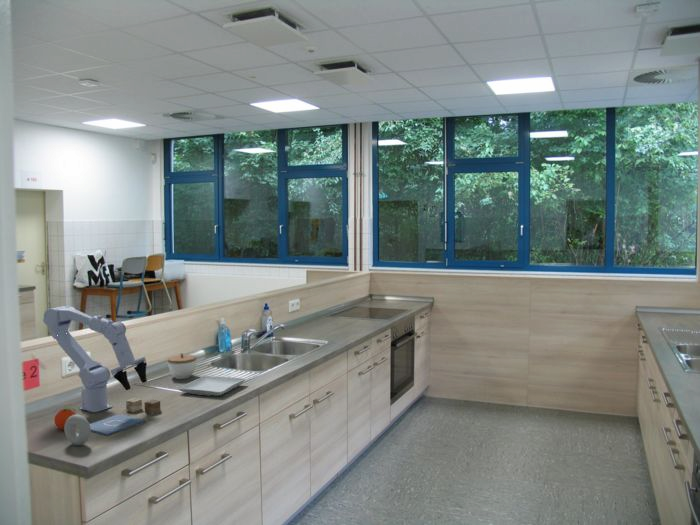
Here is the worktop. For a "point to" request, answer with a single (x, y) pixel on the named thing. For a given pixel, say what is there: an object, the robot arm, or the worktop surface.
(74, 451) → the worktop surface
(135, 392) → the worktop surface
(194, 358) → the lidded bowl
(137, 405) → the maple block
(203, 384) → the salad plate
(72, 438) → the donut
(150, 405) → the walnut block
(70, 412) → the clementine
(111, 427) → the board
